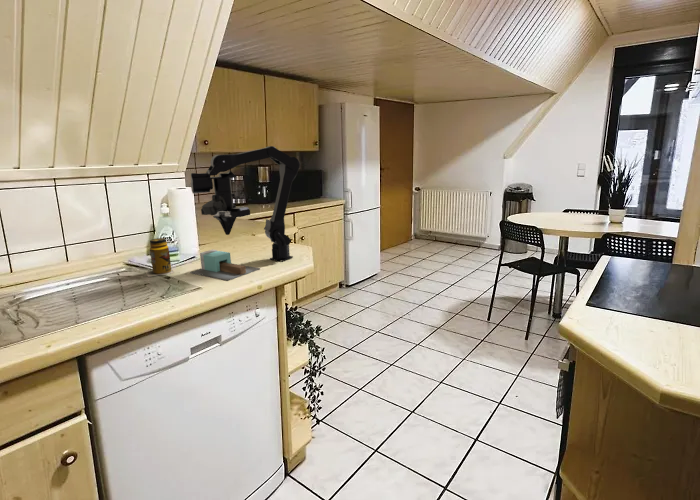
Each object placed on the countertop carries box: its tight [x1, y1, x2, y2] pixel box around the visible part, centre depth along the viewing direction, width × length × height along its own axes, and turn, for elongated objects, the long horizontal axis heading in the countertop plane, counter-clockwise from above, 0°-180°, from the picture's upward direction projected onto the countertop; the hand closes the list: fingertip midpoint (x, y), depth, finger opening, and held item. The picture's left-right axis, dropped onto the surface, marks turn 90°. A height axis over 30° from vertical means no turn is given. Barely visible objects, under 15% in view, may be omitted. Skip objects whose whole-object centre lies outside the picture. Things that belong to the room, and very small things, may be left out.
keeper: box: [203, 250, 232, 272], centre depth 143 cm, size 7×6×5 cm
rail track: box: [189, 249, 261, 282], centre depth 142 cm, size 15×19×6 cm
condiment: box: [144, 237, 175, 278], centre depth 141 cm, size 7×8×12 cm
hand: (227, 234), depth 146 cm, fingers closed
